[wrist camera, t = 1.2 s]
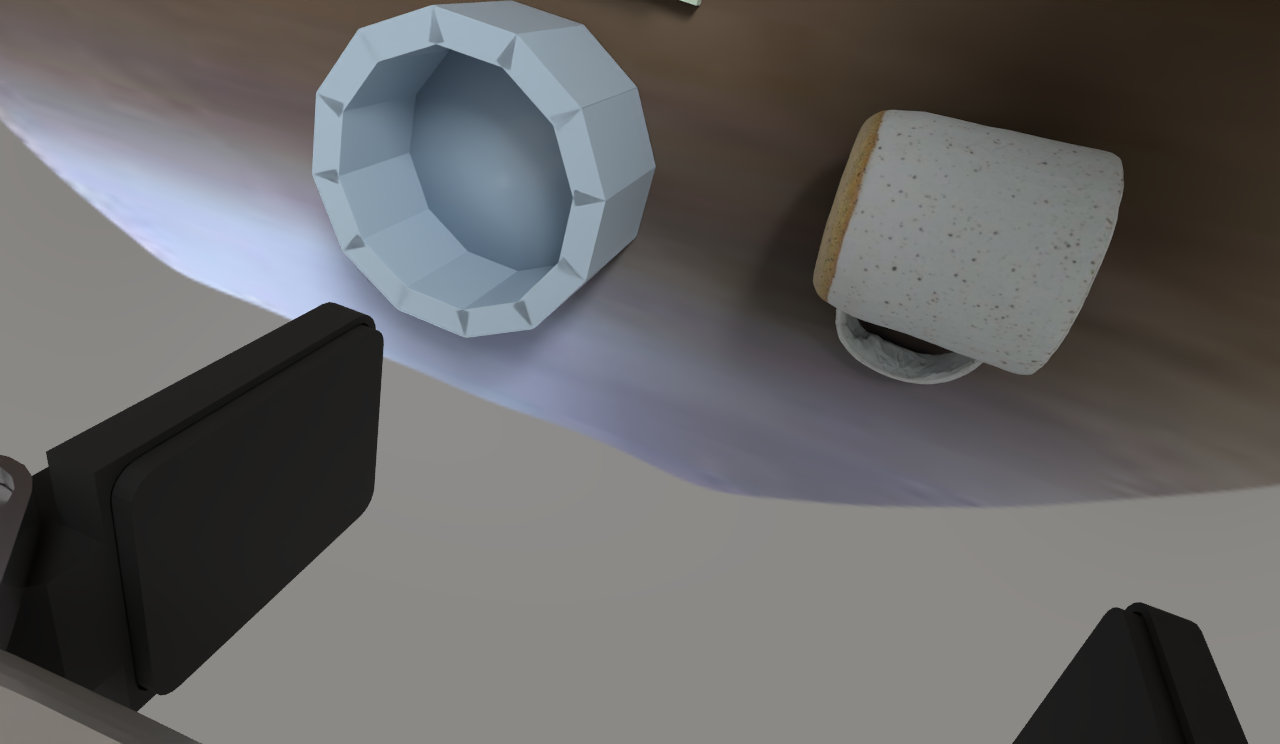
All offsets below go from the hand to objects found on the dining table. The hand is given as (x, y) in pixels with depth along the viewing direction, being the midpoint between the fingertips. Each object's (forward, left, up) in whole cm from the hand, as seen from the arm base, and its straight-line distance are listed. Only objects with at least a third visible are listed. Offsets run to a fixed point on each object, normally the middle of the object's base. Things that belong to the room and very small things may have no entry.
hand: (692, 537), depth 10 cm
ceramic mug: (+2, +5, -25) cm, 25 cm away
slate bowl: (+4, -13, -24) cm, 28 cm away
